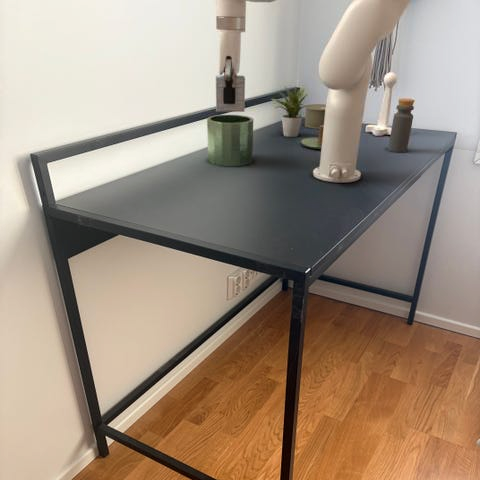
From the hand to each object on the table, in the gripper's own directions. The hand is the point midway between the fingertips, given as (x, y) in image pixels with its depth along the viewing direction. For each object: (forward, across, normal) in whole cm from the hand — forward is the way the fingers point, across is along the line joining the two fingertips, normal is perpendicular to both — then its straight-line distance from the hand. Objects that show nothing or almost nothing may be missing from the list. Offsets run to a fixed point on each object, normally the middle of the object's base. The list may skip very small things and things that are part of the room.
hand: (230, 101), depth 135 cm
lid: (+15, -22, +28) cm, 39 cm away
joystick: (+16, -43, +50) cm, 68 cm away
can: (+16, -54, +29) cm, 63 cm away
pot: (+16, 0, 0) cm, 16 cm away
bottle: (+16, -20, +52) cm, 58 cm away
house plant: (+16, -38, +18) cm, 45 cm away
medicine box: (+3, 0, 0) cm, 3 cm away
